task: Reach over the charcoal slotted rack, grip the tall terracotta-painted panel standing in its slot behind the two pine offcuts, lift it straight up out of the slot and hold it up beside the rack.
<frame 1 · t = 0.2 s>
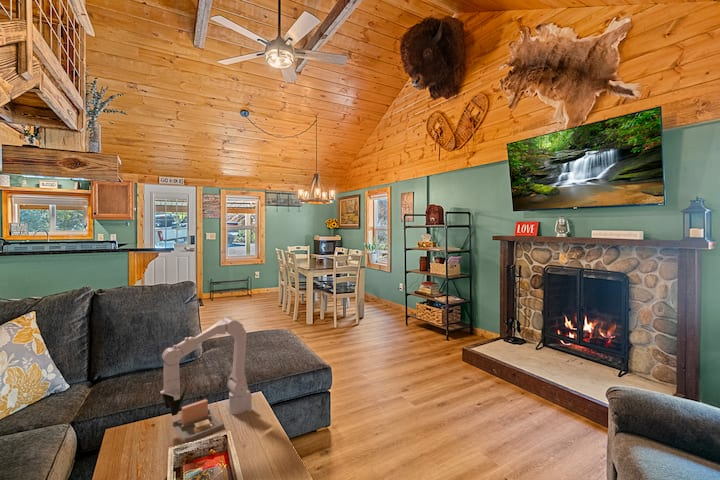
hand: (172, 411, 137), 10 cm above the table, tool pointing down, fingers open, 7 cm apart
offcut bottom: (203, 430, 139), point 1 cm above the table, touching offcut top, rack
offcut top: (202, 426, 139), point 2 cm above the table, touching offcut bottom
panel: (195, 422, 145), point 1 cm above the table, touching rack
rack: (198, 428, 142), on the table
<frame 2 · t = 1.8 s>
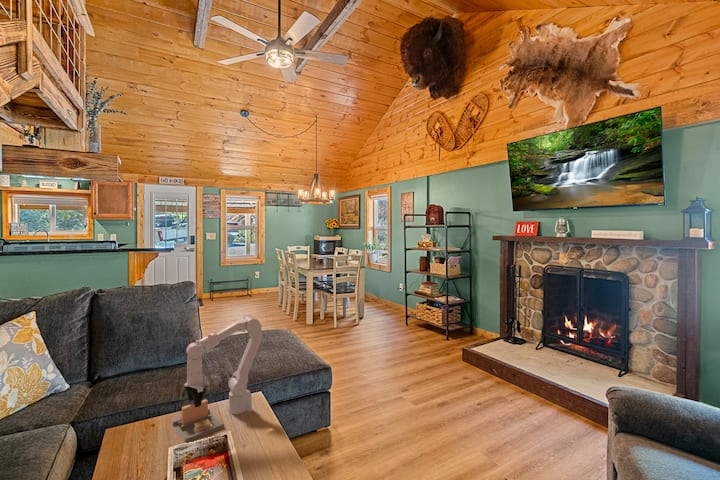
hand: (194, 403, 145), 9 cm above the table, tool pointing down, fingers open, 7 cm apart
nothing on the table moved.
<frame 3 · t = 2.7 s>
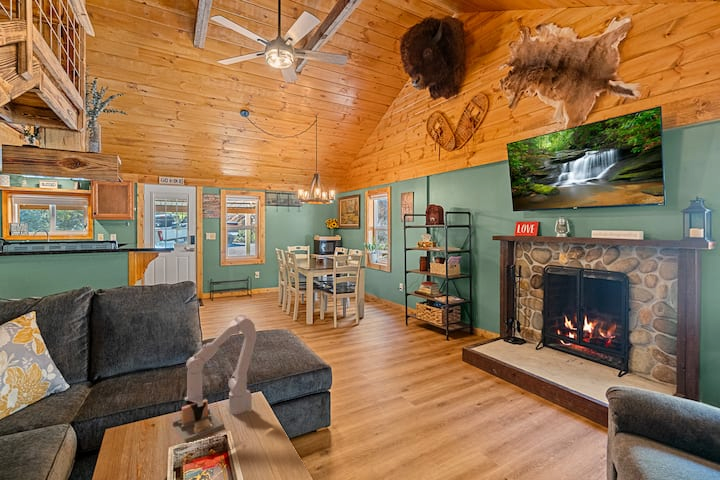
hand: (194, 416, 145), 3 cm above the table, tool pointing down, fingers open, 7 cm apart
nothing on the table moved.
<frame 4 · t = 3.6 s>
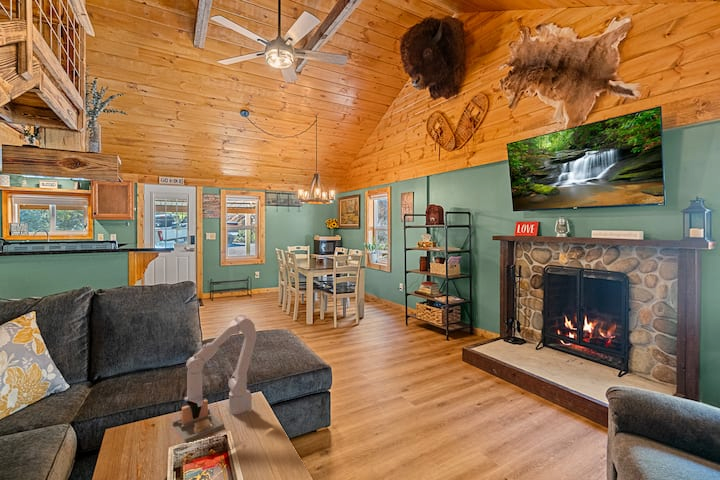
hand: (194, 416, 145), 3 cm above the table, tool pointing down, fingers closed on panel, 2 cm apart
panel: (195, 422, 145), point 1 cm above the table, touching gripper, rack
everything else where it was.
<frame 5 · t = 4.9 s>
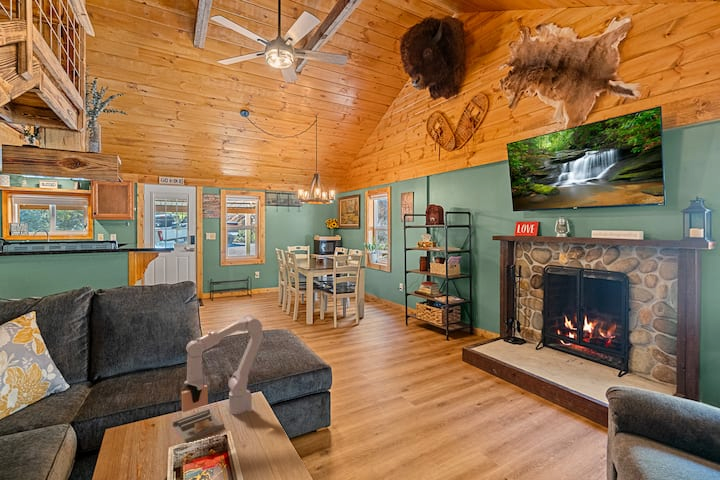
hand: (194, 400, 145), 10 cm above the table, tool pointing down, fingers closed on panel
panel: (195, 407, 145), point 7 cm above the table, touching gripper
everything else where it was.
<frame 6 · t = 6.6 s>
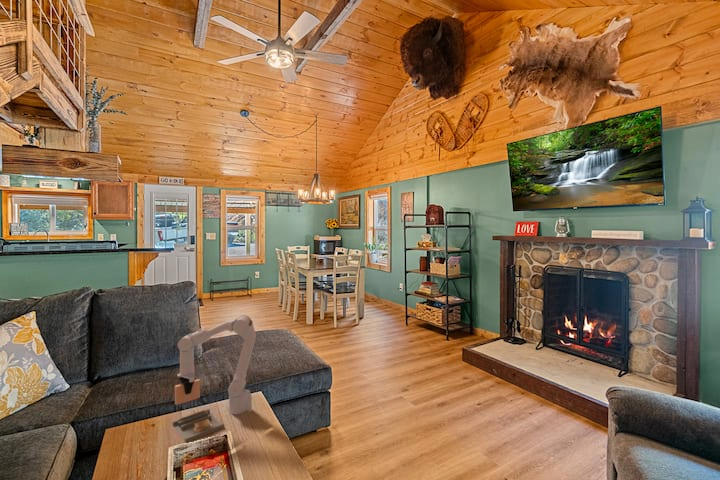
hand: (187, 392, 152), 10 cm above the table, tool pointing down, fingers closed on panel
panel: (187, 400, 152), point 7 cm above the table, touching gripper
everything else where it was.
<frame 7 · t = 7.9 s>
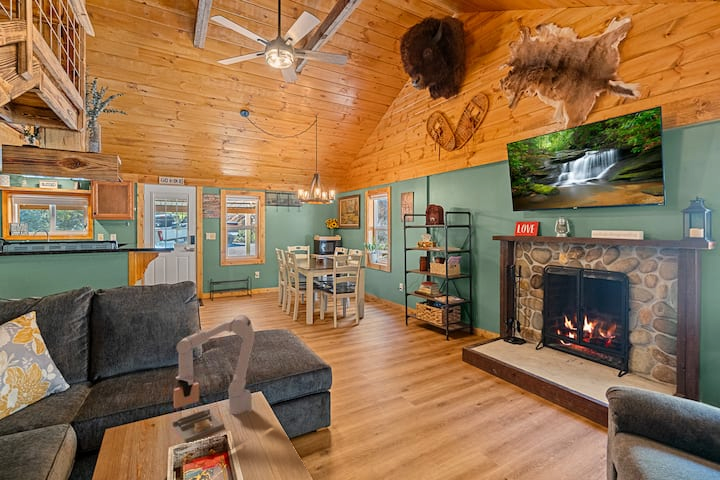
hand: (186, 395, 152), 9 cm above the table, tool pointing down, fingers closed on panel
panel: (186, 403, 152), point 5 cm above the table, touching gripper
everything else where it was.
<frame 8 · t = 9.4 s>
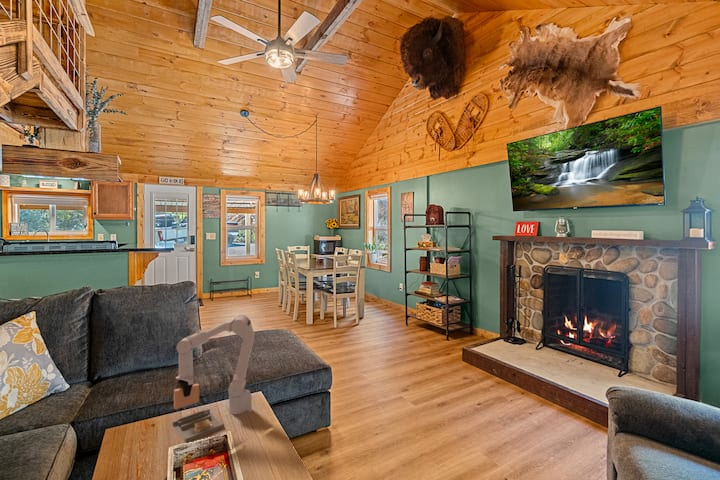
hand: (186, 395, 152), 9 cm above the table, tool pointing down, fingers closed on panel
panel: (186, 404, 152), point 5 cm above the table, touching gripper
everything else where it was.
at the end: the gripper is holding panel; panel inside the target area (0.6 cm from its centre), point 4.9 cm above the table; offcut top moved 0.0 cm from its start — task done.
